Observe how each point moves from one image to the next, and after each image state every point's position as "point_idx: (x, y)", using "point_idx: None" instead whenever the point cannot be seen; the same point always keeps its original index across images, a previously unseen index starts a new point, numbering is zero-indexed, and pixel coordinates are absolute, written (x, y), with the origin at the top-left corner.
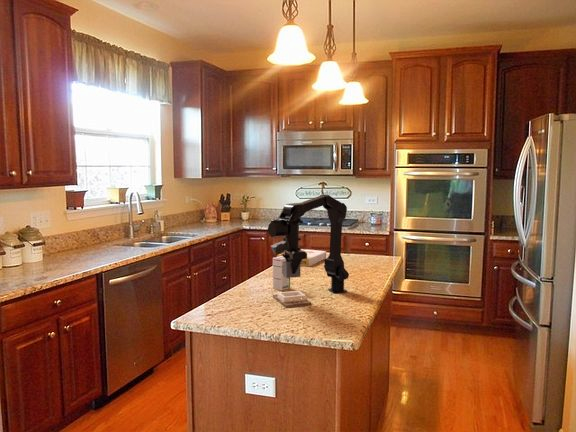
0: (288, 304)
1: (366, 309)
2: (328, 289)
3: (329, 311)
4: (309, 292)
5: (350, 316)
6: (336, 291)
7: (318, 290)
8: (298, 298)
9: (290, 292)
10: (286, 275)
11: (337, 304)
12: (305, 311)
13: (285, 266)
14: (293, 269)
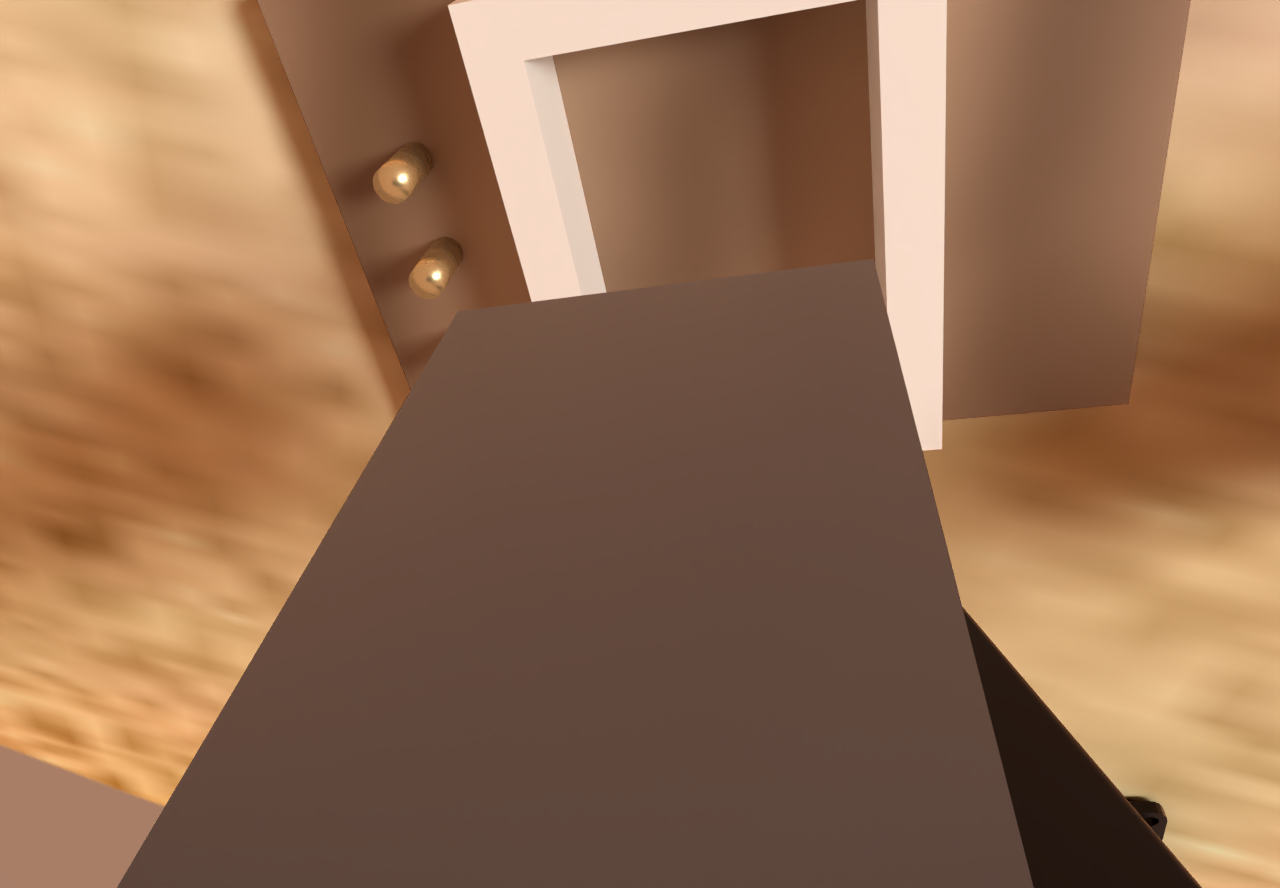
0: (311, 61)
1: None
2: (1142, 807)
3: (174, 554)
4: (1172, 588)
5: (36, 667)
6: None
7: (1212, 710)
8: None
9: (886, 260)
10: (441, 361)
11: None
12: (113, 284)
13: (465, 657)
14: None
